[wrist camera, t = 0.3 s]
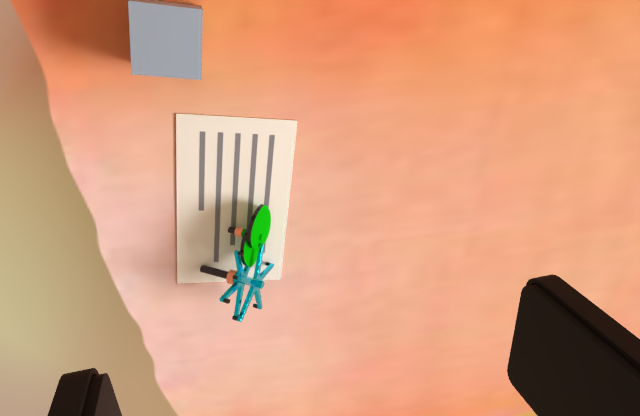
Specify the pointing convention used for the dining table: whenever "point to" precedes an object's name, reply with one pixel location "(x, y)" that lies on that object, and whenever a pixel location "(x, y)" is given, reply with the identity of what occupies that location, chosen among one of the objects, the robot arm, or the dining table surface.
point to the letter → (230, 189)
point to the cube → (165, 39)
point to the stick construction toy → (247, 262)
